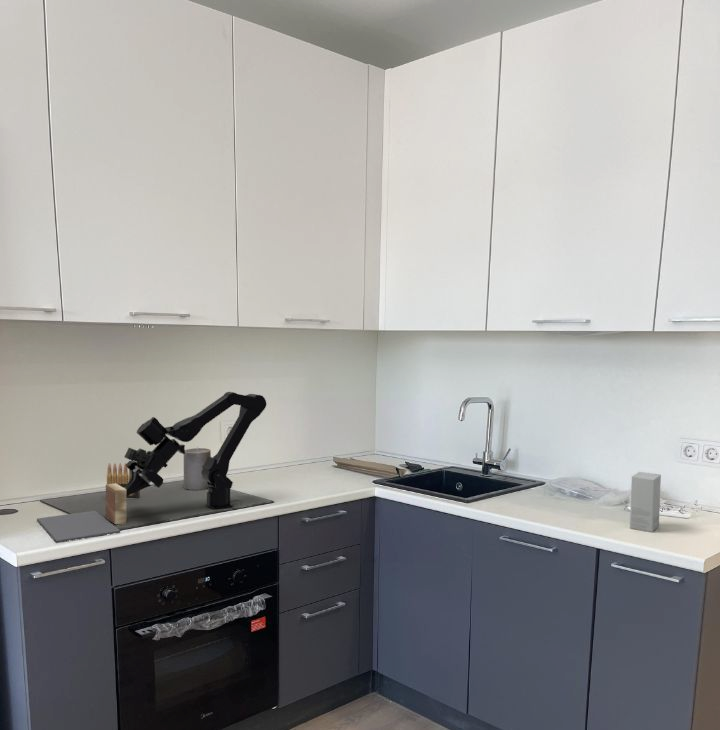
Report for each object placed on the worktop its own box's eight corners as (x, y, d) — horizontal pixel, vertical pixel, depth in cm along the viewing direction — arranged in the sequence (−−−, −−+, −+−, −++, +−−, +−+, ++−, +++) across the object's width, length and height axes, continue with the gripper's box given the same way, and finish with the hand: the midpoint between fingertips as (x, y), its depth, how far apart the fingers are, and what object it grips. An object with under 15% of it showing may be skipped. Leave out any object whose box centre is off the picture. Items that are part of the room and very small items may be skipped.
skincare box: (637, 522, 187) (638, 471, 187) (661, 527, 183) (662, 474, 183) (629, 528, 181) (630, 475, 180) (653, 533, 177) (654, 478, 176)
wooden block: (115, 516, 187) (116, 483, 187) (126, 524, 179) (126, 489, 179) (105, 518, 185) (105, 484, 185) (114, 525, 177) (115, 490, 177)
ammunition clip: (105, 499, 208) (105, 463, 208) (107, 498, 210) (107, 462, 210) (138, 498, 209) (138, 463, 209) (139, 497, 211) (140, 462, 211)
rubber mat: (94, 512, 191) (94, 510, 191) (120, 532, 170) (120, 530, 170) (36, 520, 181) (36, 518, 181) (56, 543, 161) (56, 540, 161)
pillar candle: (203, 483, 235) (202, 443, 234) (215, 487, 227) (215, 446, 227) (178, 487, 228) (178, 446, 228) (191, 491, 221) (190, 449, 220)
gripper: (132, 434, 194) (94, 473, 187) (153, 441, 179) (112, 484, 172) (157, 457, 199) (121, 496, 192) (179, 466, 184) (141, 508, 177)
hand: (123, 495), depth 183 cm, fingers closed
